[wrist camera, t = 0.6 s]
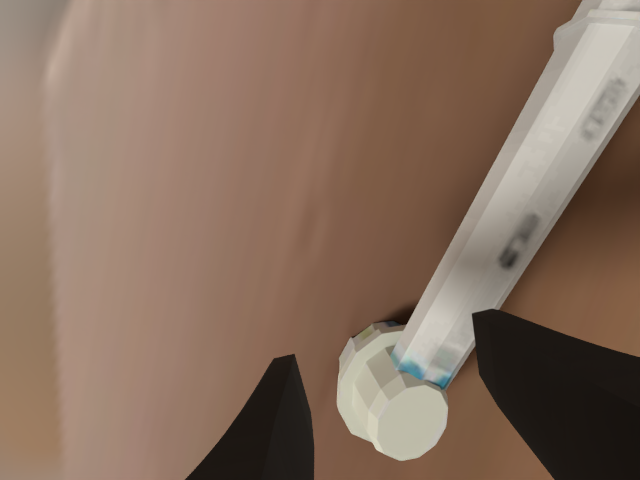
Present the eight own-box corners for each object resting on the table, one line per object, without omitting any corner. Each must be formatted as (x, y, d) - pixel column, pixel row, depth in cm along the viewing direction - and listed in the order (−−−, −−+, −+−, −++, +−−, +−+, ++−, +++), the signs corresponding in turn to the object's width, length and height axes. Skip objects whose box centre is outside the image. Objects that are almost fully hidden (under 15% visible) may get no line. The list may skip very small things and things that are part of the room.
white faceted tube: (758, -18, 14) (436, 523, 16) (605, 47, 21) (389, 424, 22) (659, -101, 13) (330, 480, 15) (533, -6, 20) (314, 391, 22)
